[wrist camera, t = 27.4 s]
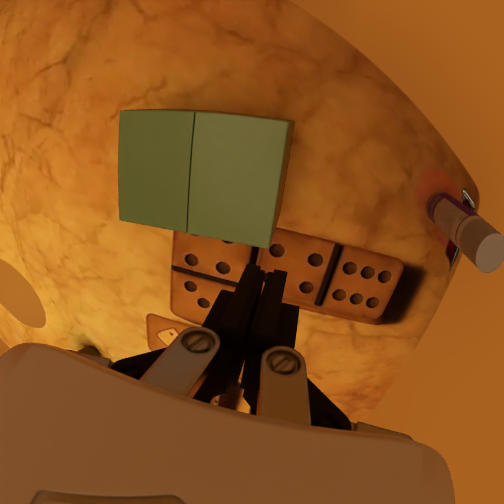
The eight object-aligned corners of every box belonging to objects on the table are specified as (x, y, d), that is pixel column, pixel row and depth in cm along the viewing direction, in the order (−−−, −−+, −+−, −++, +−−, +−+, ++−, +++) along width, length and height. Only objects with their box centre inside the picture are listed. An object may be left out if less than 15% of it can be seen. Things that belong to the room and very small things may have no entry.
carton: (294, 121, 35) (289, 121, 25) (279, 214, 41) (268, 249, 31) (165, 108, 37) (119, 110, 27) (160, 194, 43) (119, 220, 33)
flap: (288, 122, 25) (288, 122, 25) (268, 247, 31) (268, 249, 31) (197, 112, 26) (195, 111, 26) (188, 232, 32) (187, 233, 31)
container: (459, 204, 34) (514, 247, 21) (441, 228, 36) (489, 281, 23) (438, 185, 34) (493, 223, 21) (420, 211, 36) (467, 260, 23)
